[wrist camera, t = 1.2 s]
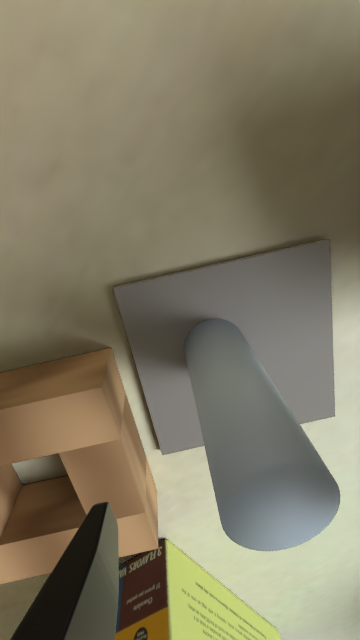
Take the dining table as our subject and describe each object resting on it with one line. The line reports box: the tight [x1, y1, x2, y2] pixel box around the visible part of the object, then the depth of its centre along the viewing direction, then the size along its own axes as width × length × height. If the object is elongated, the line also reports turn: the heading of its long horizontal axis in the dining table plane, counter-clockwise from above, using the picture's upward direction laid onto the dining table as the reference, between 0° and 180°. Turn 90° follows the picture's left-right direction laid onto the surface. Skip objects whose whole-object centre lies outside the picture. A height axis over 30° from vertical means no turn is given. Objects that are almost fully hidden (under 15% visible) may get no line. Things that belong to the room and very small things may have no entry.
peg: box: [184, 319, 340, 551], centre depth 12 cm, size 3×3×9 cm
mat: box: [113, 239, 335, 455], centre depth 17 cm, size 10×10×1 cm
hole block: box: [0, 348, 158, 584], centre depth 17 cm, size 10×10×4 cm
